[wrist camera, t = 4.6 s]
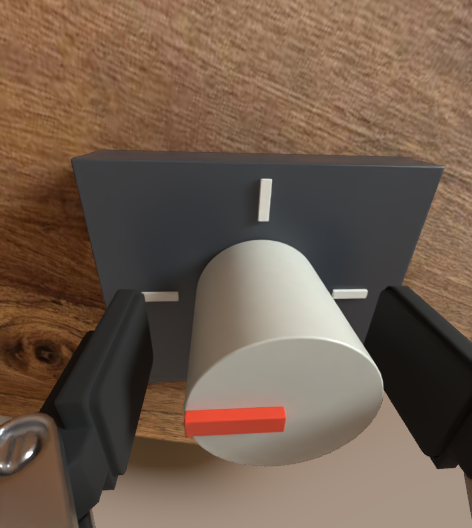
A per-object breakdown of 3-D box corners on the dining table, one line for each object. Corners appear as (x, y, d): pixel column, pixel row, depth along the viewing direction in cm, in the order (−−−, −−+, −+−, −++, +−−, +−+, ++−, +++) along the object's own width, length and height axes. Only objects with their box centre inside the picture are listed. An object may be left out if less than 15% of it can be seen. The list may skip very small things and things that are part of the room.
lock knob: (326, 239, 10) (422, 344, 5) (306, 338, 12) (362, 473, 8) (193, 239, 10) (174, 351, 5) (198, 341, 12) (188, 485, 7)
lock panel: (401, 156, 11) (449, 166, 9) (348, 339, 16) (370, 378, 14) (100, 149, 11) (66, 158, 8) (136, 345, 15) (122, 387, 13)
